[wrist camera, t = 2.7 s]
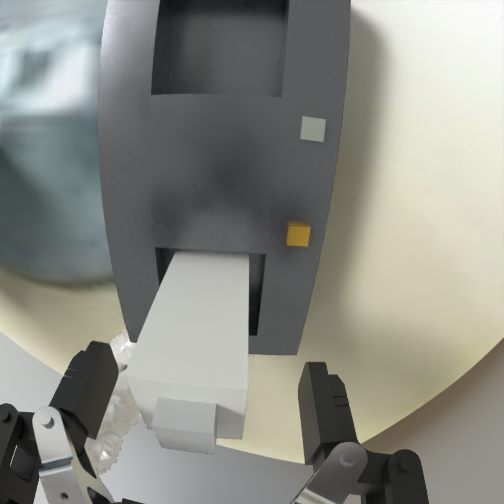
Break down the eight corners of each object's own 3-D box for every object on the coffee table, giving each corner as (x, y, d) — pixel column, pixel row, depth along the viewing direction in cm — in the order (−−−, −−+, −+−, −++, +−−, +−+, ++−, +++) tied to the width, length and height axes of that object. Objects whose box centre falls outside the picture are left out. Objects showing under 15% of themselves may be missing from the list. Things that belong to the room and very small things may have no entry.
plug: (184, 293, 19) (142, 451, 9) (181, 238, 17) (114, 404, 7) (245, 297, 19) (241, 463, 9) (249, 242, 17) (247, 421, 7)
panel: (144, 309, 21) (128, 345, 17) (138, -10, 10) (112, -32, 7) (290, 320, 21) (297, 358, 18) (332, -6, 11) (352, -31, 7)
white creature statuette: (193, 389, 25) (177, 502, 15) (123, 392, 27) (95, 487, 16) (145, 319, 21) (97, 458, 11) (72, 331, 22) (18, 436, 12)
